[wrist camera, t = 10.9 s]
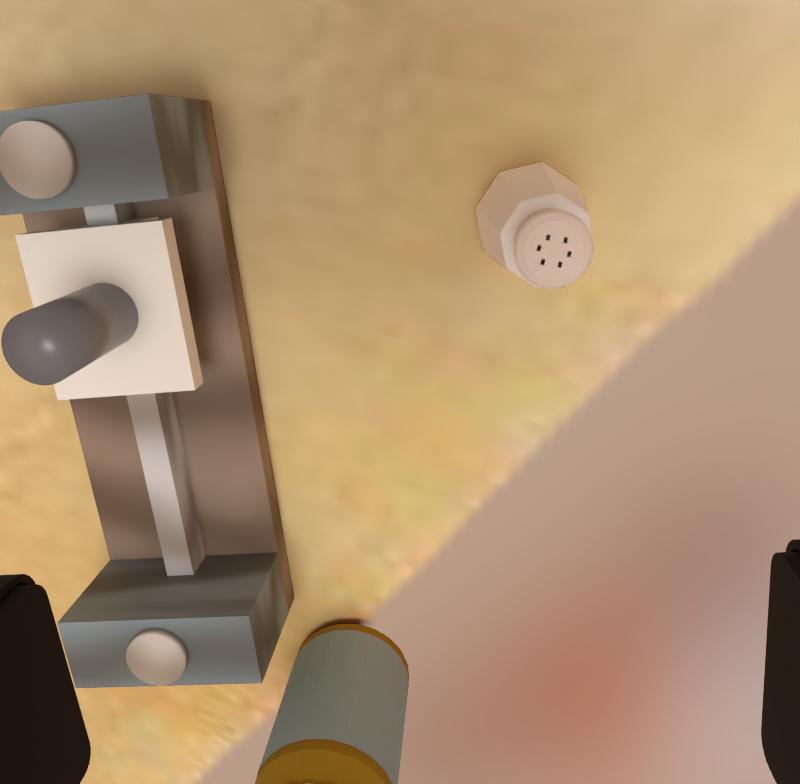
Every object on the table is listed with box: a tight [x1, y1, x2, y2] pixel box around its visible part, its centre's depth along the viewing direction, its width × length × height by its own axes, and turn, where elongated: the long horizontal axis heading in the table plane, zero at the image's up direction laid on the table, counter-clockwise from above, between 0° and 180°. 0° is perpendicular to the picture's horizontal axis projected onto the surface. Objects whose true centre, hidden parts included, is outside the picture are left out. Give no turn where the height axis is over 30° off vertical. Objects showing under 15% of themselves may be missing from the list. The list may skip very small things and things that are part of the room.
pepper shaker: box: [475, 162, 594, 289], centre depth 32 cm, size 5×5×11 cm
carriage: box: [1, 216, 203, 400], centre depth 34 cm, size 8×7×9 cm
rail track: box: [0, 94, 294, 688], centre depth 38 cm, size 28×10×8 cm, turn 6°
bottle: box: [255, 624, 409, 784], centre depth 40 cm, size 7×7×15 cm
